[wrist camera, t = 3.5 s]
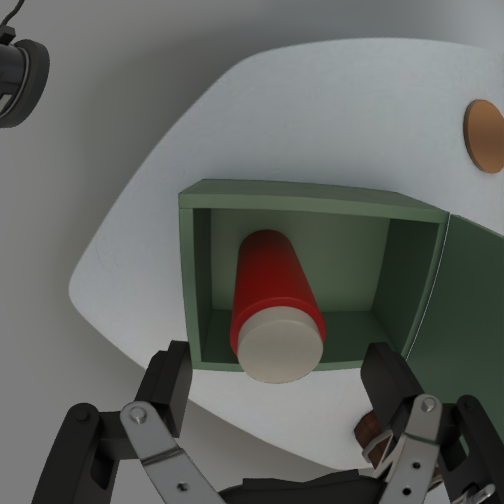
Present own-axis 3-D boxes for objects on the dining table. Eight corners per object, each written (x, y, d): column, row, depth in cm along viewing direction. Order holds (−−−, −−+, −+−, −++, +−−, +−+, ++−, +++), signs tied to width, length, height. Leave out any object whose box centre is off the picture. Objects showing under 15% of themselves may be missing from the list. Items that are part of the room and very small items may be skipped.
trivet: (453, 108, 19) (458, 108, 18) (492, 94, 17) (496, 94, 17) (475, 182, 21) (480, 183, 20) (510, 160, 20) (514, 161, 19)
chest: (205, 311, 26) (191, 369, 18) (202, 178, 21) (178, 193, 14) (373, 312, 26) (405, 362, 19) (396, 192, 22) (450, 212, 14)
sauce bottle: (227, 245, 22) (207, 339, 11) (279, 219, 22) (310, 293, 10) (254, 290, 24) (257, 400, 13) (303, 266, 23) (344, 366, 12)
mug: (389, 439, 36) (413, 504, 22) (339, 436, 34) (358, 517, 20) (451, 379, 31) (493, 446, 17) (408, 369, 29) (457, 457, 15)
